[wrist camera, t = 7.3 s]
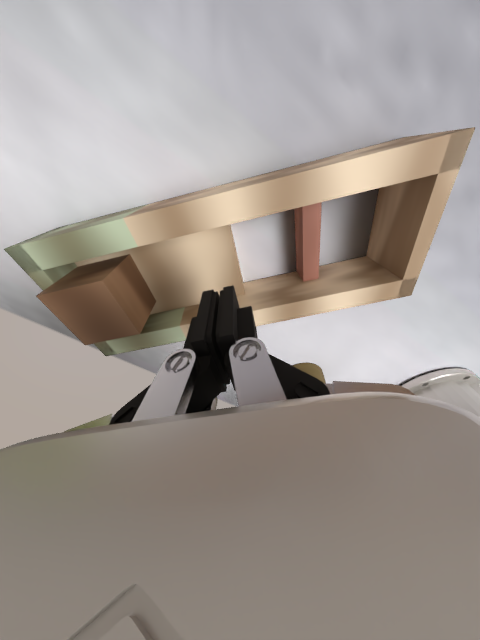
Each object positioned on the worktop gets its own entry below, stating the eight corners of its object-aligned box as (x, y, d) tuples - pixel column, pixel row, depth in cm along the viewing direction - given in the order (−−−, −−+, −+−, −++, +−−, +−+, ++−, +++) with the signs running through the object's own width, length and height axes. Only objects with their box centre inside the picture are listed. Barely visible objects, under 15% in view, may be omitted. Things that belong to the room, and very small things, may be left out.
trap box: (404, 137, 12) (475, 127, 9) (374, 269, 18) (411, 295, 14) (57, 227, 14) (3, 249, 11) (126, 322, 20) (105, 356, 16)
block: (129, 253, 14) (102, 280, 11) (156, 301, 16) (140, 333, 13) (77, 266, 14) (36, 296, 11) (111, 311, 17) (85, 345, 14)
